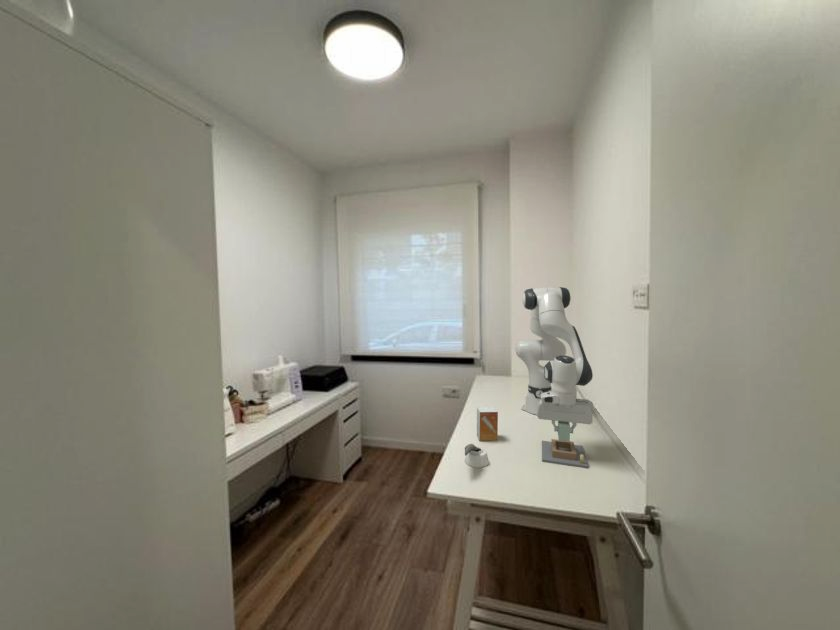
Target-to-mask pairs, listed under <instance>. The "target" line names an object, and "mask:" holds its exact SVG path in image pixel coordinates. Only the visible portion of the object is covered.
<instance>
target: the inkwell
mask: <svg viewBox="0 0 840 630" xmlns="http://www.w3.org/2000/svg"><path fill="white" fill-rule="evenodd" d="M464 457H465V458H464V463H465V464H466V465H467V466H469V467H471V466H472V468H477V467H478V469H479V467H480V468H484V467H487V466H488V465H489V463H490V460H489V457H488V454H487V451H486V450H485V449H484V448H482V447H480V446H477V445H475V444H474V443H468V444H467V445H466V446H465V447H464Z"/></svg>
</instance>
